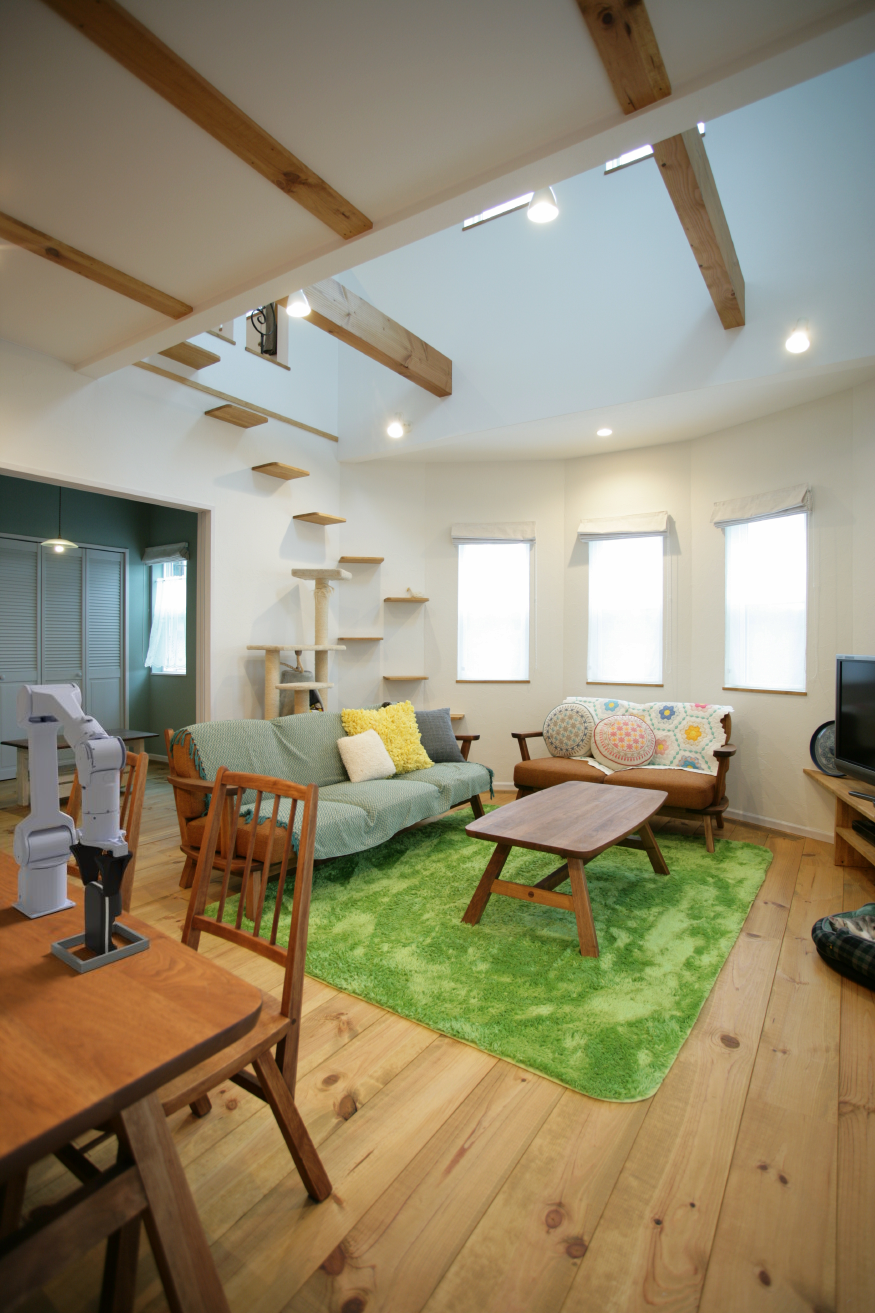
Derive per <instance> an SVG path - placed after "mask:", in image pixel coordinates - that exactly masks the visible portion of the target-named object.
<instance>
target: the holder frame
mask: <svg viewBox="0 0 875 1313" xmlns="http://www.w3.org/2000/svg"><path fill="white" fill-rule="evenodd" d="M113 933H117V934H119V935H120V936H121V937H124V938H126V939H127V940H129V941H131V942H133V943H131V944H128V945H126V946H123V947H120V948H118V949H117V950H114V951H112V952H109V953H106V954H103V955H101V956H99V955H97V956H95V957H92V958H90V959H87V960H84V961H83V960H81V959H80V958H79V957H77V956H76V955H75V954H73V953H72V952H70V951H68V950H67V949H69V948H72V947H76V946H79V945H81V944H85V931H84V932H81V933H78V934H76V935H73V936H70V937H66V938H63V939H60V940H57V941H54V942H51V943H50V953H52V954H53V955H54V956H56V957H57V958H58V959H60V960H61V961H63V962H65V963H66V964H67V965H68V966H70V967H71V968H72V969H74V970H75V971H77V972H78V973H80V974H81V975H82V974H84V973H87V972H89V971H93V970H95V969H97V968H101V967H103V966H106V965H108V964H111V963H113V962H117V961H118V960H121V959H124V958H126V957H129V956H132V955H135V954H137V953H140V952H143V951H145V950H148V949H150V939H149V938H148V937H146V936H144V935H142V933H139V932H137V931H136V930H134V929H131V928H130V927H128V926H127V925H124V924H122V923H121V922H119V921H114V923H113V925H112V934H113Z"/></svg>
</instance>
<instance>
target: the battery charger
mask: <svg viewBox="0 0 875 1313" xmlns="http://www.w3.org/2000/svg"><path fill="white" fill-rule="evenodd" d="M83 902H84V905H83V908H84V913H83V914H84V932H85V942H84V946H85V947H86V949H88V950H90V952H92V953H94V954H96V955H97V956H101V955H103V954H106V953H109V952H112V951H114V950H117V949H119V947H118V945H117V944H115V943H114V942H113V937H112V935H113V933H112V925H113V923H115V922H116V918H118V917H120V916H122V913H123V909H122V908H123V901H122V890H121V889H120V890H119V893H118V894H116V895H113V896H110V897H105V896H104V893H103V888H102V879H98V881H96V882H90V883H88V884H87V885H86V886H84V901H83Z"/></svg>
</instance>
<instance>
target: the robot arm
mask: <svg viewBox="0 0 875 1313" xmlns="http://www.w3.org/2000/svg"><path fill="white" fill-rule="evenodd" d="M82 702H83V701H82V692H81V688H80V687H79V686H78V685H77V684H76V683H75V682H70V683H59V684H57V683H56V684H53V683H52V684H32V685H31V684H30V685H29V684H22V685H21V686H20V688H19V689H17V693H16V696H15V714H16V722H17V727H18V728H21V729H24V730H26V735H27V739H28V740H27V741H28V743H27V744H28V765H29V766H28V767H29V768H28V769H29V771H28V772H29V794H30V813H29V814H28V815H27V816H26V817H24V819H23V820H22V821H20V822H18V823H17V825H15V829H14V839H13V842H12V851H13V852H12V853H13V857H14V860H15V861H14V862H16V864H17V865H19V866H20V867H19V870H18V872H17V902H14V903H12V907H13V908H15V909H16V910H18V911H20V912H21V913H23V914H24V915H25V916H27V917H29V918H30V919H35V918H38V917H42V916H44V915H49V914H52V913H55V912H58V911H59V912H60V911H62V910H66V909H69V908H73V907H76V902H74V901H73V900H70V899H68V890H67V889H68V887H67V886H68V885H67V884H68V877H67V876H68V874H67V873H68V872H67V870H68V866H67V863H68V861H70V860H71V856H73V858H74V860H75V862H76V864H77V867H78V871H79V873H80V874H79V875H80V879H81V883H82V885H83V886H84V887H85V886H86V885H87V884H88V883H90V882H96V881H99V877H100V880H102V888H103V893H104V896H105V897H110V896H113V895H116V894H118V893H119V890H121V886H122V882H123V878H124V874H125V872H126V869H127V868H128V866H129V863H130V862H131V860H132V859H133V857H134V852H133V851H132V850H128V847H129V846H128V845H129V844H128V842H126V841H125V839H124V837H125V836H126V835H127V831H126V830H124V829H120V814H121V813H120V812H121V811H120V807H121V806H120V803H121V802H120V796H121V795H120V792H121V791H120V790H121V789H120V787H121V786H120V784H121V783H120V782H121V781H120V779H121V778H120V775H121V774H120V773H121V772H120V771H122V770H124V768H125V767H126V763H127V749H126V745H125V742H124V741H123V739H122V737H120V736H114V735H111V736H110V735H108V733H107V732H106V731H105V729H104V728H103V727H102V726H101V724H100V723H99V722H98V720H97V719H96V718H94V717H92V715H85V712H83V710H82V708H81V706H82ZM62 726H63V727H64V729H63V738H64V740H65V741H66V742H67V744H68V745H69V746H70V748H71V750H73V752H74V753H75V757H74V758H75V766H76V770H77V777H78V778H77V779H78V783H79V785H81V827H79V828H75V822H74V819H73V817H71V816H70V815H69V814H66V813H64V812H63V811H60V791H59V790H60V789H59V770H58V768H59V766H58V762H59V761H58V741H57V732H58V730H59V729H60V728H61V727H62ZM104 851H106V853H103V852H104Z"/></svg>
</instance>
